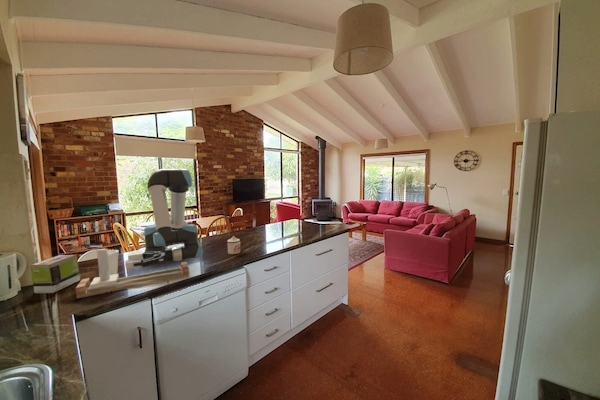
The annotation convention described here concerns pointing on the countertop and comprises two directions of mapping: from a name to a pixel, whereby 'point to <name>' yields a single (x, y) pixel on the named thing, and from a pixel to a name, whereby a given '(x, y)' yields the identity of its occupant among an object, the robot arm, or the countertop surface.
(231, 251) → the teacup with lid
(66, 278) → the tea box
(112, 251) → the foam cup
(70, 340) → the countertop surface
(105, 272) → the carriage
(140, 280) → the rail
